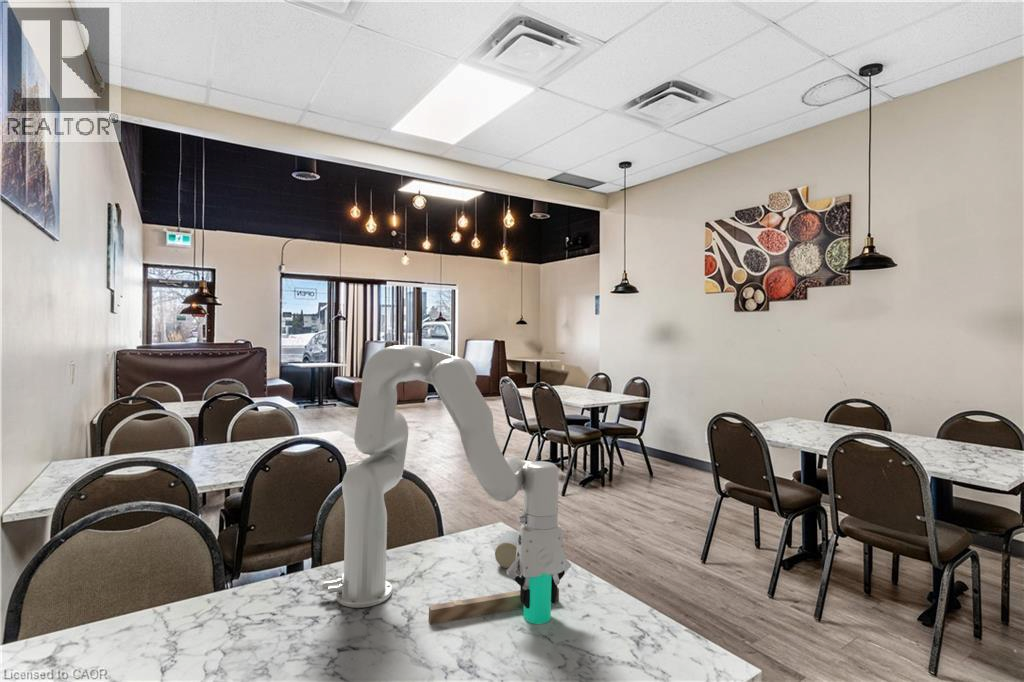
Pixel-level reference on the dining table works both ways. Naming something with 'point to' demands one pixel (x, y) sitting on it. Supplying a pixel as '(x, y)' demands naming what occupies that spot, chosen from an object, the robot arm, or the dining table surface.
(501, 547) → the ceramic mug
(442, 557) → the dining table surface
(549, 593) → the candle
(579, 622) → the dining table surface
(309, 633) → the dining table surface
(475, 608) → the rail
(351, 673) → the dining table surface
